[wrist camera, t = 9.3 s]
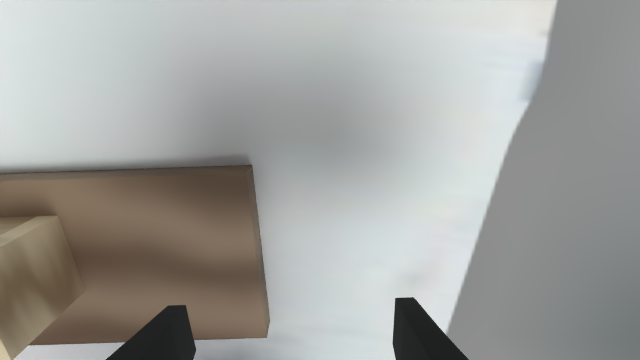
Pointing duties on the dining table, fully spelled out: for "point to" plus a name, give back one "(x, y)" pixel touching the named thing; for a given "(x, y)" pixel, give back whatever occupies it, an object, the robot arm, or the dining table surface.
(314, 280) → the dining table surface
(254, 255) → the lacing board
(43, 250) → the open-ended tan box
